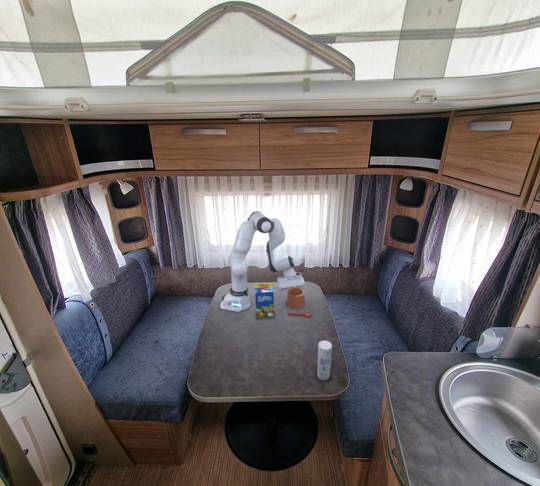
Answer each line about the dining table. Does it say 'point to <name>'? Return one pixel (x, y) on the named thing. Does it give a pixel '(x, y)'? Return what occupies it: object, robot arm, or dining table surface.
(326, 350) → the spray can
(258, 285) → the blue food package
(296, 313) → the red spoon
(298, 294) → the copper pot
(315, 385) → the dining table surface
